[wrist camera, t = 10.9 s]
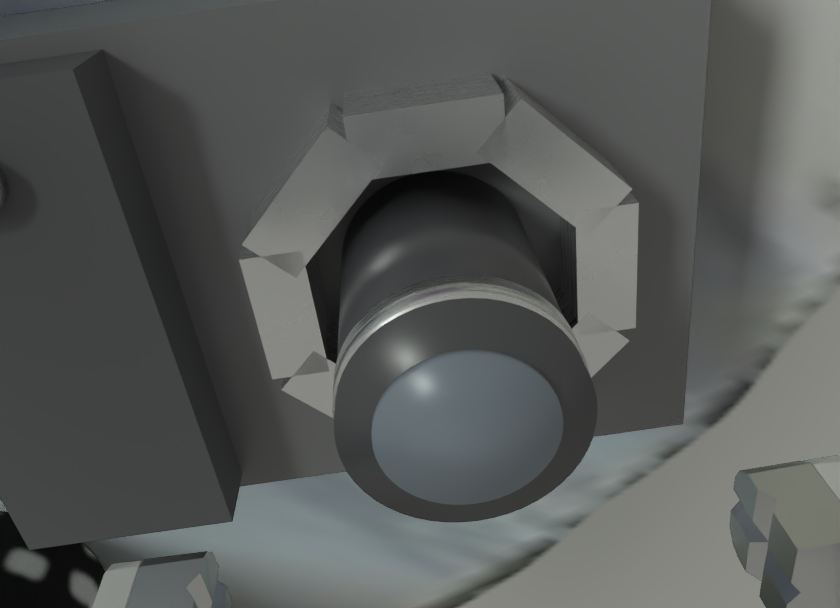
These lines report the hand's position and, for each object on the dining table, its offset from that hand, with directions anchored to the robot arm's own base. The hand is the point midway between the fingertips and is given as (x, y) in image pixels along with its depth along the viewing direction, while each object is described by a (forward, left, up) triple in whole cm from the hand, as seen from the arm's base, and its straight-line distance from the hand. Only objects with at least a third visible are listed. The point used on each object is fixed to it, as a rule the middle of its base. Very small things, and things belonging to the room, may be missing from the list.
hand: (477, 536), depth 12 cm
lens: (0, 0, -10) cm, 10 cm away
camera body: (-3, 0, -15) cm, 15 cm away
